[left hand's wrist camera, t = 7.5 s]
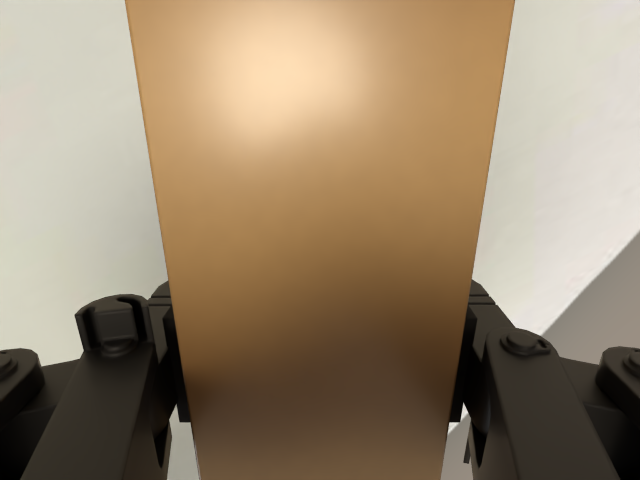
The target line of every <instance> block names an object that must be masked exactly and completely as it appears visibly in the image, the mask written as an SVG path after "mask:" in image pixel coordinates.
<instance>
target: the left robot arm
mask: <svg viewBox="0 0 640 480" xmlns="http://www.w3.org/2000/svg"><path fill="white" fill-rule="evenodd" d="M75 319H76V323H77V326H78V330H79V334H80V338H81V342H82V345H83V349H84V352H83V354H82V356H81V358H80V359H77V360H73V361H68V362H63V363H58V364H53V365H48V366H42V367H41V364H40V361H39V358H38V355H37V354H36V353H35V352H34V351H32V350H29V349H22V348H18V349H9V350H2V351H0V480H167V474H168V465H169V457H170V449H171V441H172V434H171V428H170V422H169V419H170V417H171V414H172V412H173V410H174V408H175V406H176V403H177V409H178V415H179V421H180V422H191V421H190V415H189V409H188V402H187V396H186V389H185V383H184V377H183V370H182V364H181V357H180V351H179V344H178V338H177V332H176V325H175V319H174V312H173V306H172V300H171V293H170V287H169V280H168V281H167V282H165V283H163V284H162V285H160V286H159V287H158V288H157V289H156V291H155V292H154V293H153V294H152V296H151V298H149V299H148V301H147V300H146V299H145V298H144V297H142V296H138V295H134V294H119V295H114V296H108V297H104V298H102V299H99V300H96V301H93V302H91V303H89V304H88V305H86V306H84V307H82V308H81V309H80V310H79V311H78V312H77V313H76V314H75ZM463 402H464V404H465V406H466V409H467V411H468V413H469V415H470V417H471V422H470V428H469V433H468V439H467V444H466V450H465V455H464V463H469V460H470V456H471V464H472V473H473V480H640V349H638V348H630V347H620V346H619V347H612V348H608V349H607V350H605V351H604V352H603V354H602V357H601V360H600V363H599V365H596V364H591V363H586V362H581V361H576V360H571V359H566V358H562V357H559V355H558V353H557V351H556V349H555V348H554V347H553V346H552V344H551V343H550V342H548V341H547V340H545V339H544V338H542V337H541V336H539V335H537V334H535V333H532V332H530V331H527V330H523V329H519V328H515V326H514V325H513V324H512V323H511V321H510V320H509V319H508V318H507V316H506V315H505V314H504V313H503V312H502V310H501V309H500V308H499V307H498V305H495V302H494V300H493V299H492V298H491V297H489V294H488V293H487V292H486V291H485V289H484V288H483V287H482V286H481V285H480V284H479V283H477V282H475V281H474V280H472V279H471V286H470V292H469V299H468V305H467V312H466V318H465V324H464V331H463V337H462V344H461V350H460V356H459V363H458V369H457V376H456V382H455V389H454V395H453V401H452V408H451V414H450V421H449V422H460V420H461V414H462V408H463Z"/></svg>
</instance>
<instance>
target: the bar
mask: <svg viewBox="0 0 640 480" xmlns="http://www.w3.org/2000/svg"><path fill="white" fill-rule="evenodd" d="M514 3H515V0H125V4H126V11H127V17H128V24H129V30H130V36H131V43H132V49H133V56H134V62H135V68H136V75H137V81H138V88H139V94H140V101H141V107H142V113H143V120H144V126H145V133H146V139H147V145H148V152H149V158H150V165H151V171H152V178H153V184H154V190H155V197H156V203H157V210H158V216H159V222H160V229H161V235H162V242H163V248H164V255H165V261H166V267H167V274H168V280H169V287H170V293H171V300H172V306H173V312H174V319H175V325H176V332H177V338H178V344H179V351H180V357H181V364H182V370H183V377H184V383H185V389H186V396H187V402H188V409H189V415H190V421H191V428H192V434H193V441H194V447H195V454H196V460H197V466H198V473H199V479H200V480H440V478H441V472H442V466H443V459H444V453H445V446H446V440H447V433H448V427H449V421H450V414H451V408H452V401H453V395H454V389H455V382H456V376H457V369H458V363H459V356H460V350H461V344H462V337H463V331H464V324H465V318H466V312H467V305H468V299H469V292H470V286H471V279H472V273H473V267H474V260H475V254H476V247H477V241H478V235H479V228H480V222H481V215H482V209H483V202H484V196H485V190H486V183H487V177H488V170H489V164H490V158H491V151H492V145H493V138H494V132H495V125H496V119H497V113H498V106H499V100H500V93H501V87H502V80H503V74H504V68H505V61H506V55H507V48H508V42H509V36H510V29H511V23H512V16H513V10H514Z"/></svg>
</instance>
